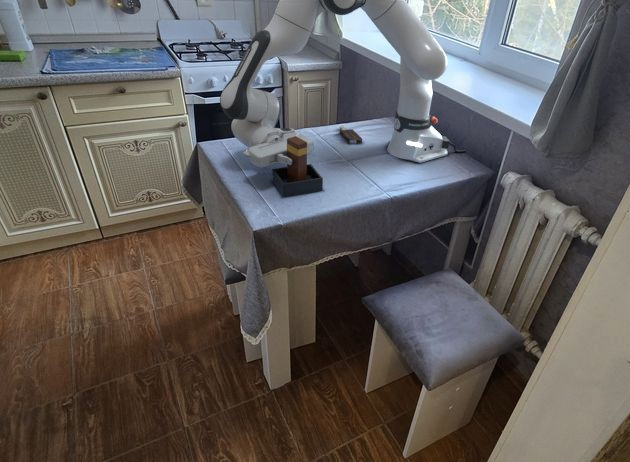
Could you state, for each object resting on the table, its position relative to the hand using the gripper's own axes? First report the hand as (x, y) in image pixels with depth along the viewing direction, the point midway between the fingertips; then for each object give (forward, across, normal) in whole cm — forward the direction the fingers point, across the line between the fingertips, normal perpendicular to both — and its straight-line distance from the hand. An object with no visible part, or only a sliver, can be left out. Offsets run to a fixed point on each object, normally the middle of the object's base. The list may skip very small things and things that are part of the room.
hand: (299, 160), depth 123 cm
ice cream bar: (-19, +39, +9) cm, 44 cm away
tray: (-1, 0, +9) cm, 9 cm away
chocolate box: (-1, 0, +8) cm, 8 cm away
